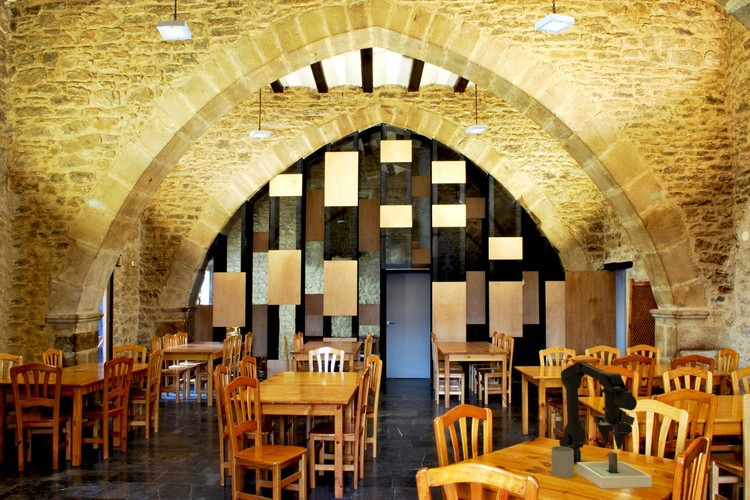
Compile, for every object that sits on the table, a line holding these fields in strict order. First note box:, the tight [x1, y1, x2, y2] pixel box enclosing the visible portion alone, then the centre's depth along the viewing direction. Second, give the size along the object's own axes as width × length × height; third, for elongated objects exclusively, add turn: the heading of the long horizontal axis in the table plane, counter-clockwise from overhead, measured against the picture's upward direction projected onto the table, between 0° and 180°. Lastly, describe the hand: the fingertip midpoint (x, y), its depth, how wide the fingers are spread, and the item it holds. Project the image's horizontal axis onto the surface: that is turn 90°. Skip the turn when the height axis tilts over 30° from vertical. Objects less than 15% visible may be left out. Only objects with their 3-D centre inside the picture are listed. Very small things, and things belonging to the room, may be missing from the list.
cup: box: [551, 445, 575, 479], centre depth 239 cm, size 8×8×10 cm
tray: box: [576, 460, 653, 489], centre depth 233 cm, size 20×20×4 cm
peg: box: [608, 451, 618, 474], centre depth 233 cm, size 3×3×9 cm
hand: (612, 446), depth 234 cm, fingers open, 9 cm apart
